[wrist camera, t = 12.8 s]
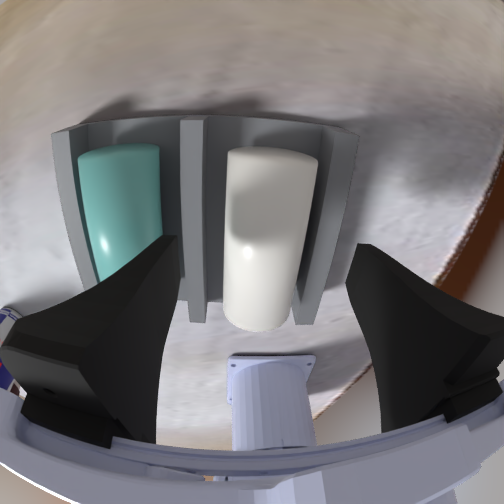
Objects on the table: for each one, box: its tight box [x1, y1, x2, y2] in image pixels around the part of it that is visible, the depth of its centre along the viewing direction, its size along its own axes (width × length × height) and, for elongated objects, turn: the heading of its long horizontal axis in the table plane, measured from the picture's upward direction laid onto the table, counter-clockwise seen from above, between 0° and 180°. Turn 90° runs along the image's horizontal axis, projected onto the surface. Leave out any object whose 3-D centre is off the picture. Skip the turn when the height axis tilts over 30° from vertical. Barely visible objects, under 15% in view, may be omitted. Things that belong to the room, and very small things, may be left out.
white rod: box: [223, 146, 318, 332], centre depth 14 cm, size 9×4×4 cm, turn 176°
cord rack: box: [51, 115, 359, 325], centre depth 15 cm, size 12×15×3 cm
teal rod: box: [78, 143, 163, 282], centre depth 14 cm, size 9×4×4 cm, turn 175°
